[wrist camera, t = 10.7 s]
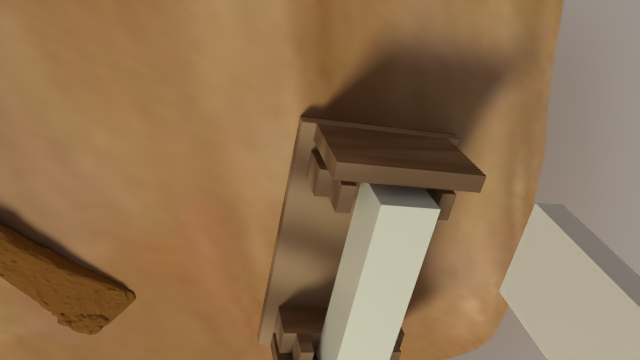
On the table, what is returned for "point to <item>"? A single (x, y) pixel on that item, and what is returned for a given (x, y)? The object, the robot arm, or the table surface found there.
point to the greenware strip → (377, 271)
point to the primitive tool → (61, 284)
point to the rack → (343, 215)
